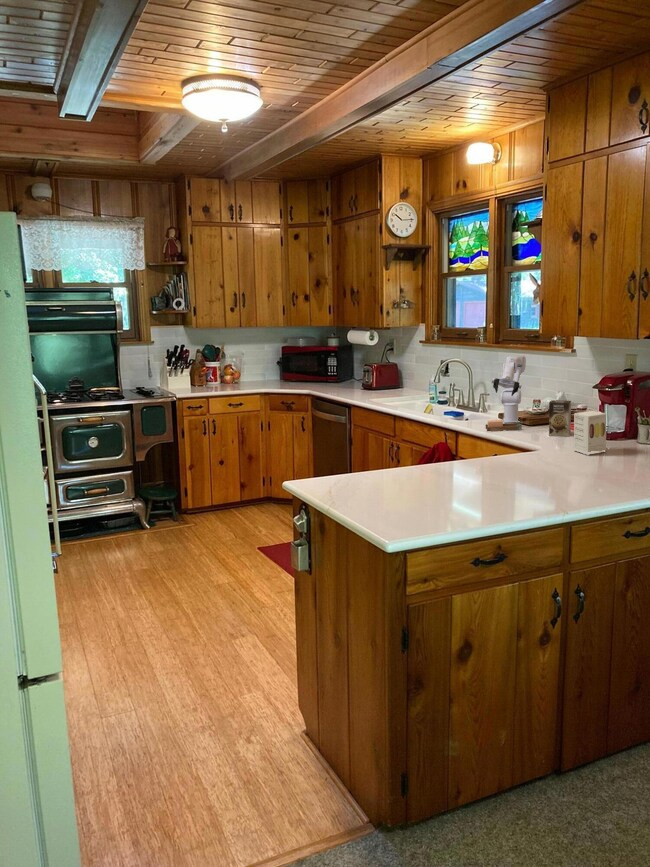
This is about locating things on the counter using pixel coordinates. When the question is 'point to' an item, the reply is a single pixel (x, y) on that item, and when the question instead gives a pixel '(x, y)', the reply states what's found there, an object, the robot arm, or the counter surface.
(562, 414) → the grey rectangular box
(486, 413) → the counter surface
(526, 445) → the counter surface
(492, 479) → the counter surface
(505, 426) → the walnut chute
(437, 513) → the counter surface
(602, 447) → the supplement box
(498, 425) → the block
